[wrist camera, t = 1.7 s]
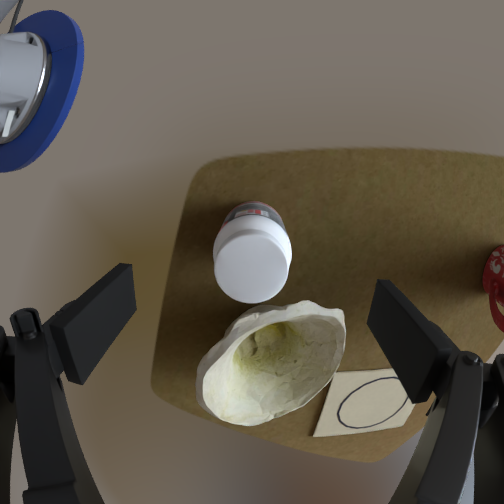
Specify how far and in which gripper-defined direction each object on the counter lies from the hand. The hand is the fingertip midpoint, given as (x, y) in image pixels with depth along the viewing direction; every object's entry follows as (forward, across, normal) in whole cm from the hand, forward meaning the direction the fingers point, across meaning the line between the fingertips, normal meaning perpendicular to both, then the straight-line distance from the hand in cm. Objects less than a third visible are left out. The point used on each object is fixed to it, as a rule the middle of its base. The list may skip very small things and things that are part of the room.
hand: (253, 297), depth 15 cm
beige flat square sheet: (+14, +19, -24) cm, 33 cm away
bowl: (+14, +3, -11) cm, 18 cm away
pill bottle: (+14, 0, 0) cm, 14 cm away
